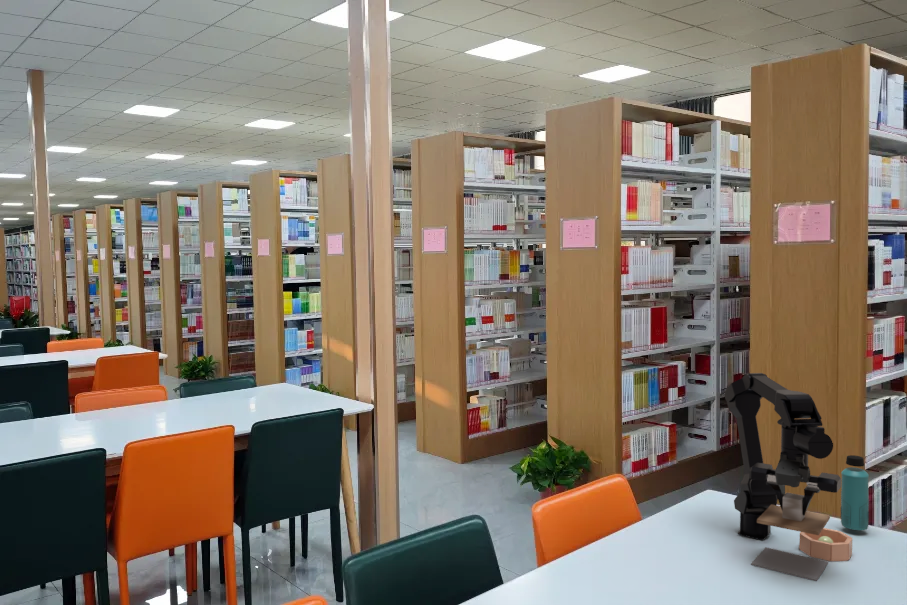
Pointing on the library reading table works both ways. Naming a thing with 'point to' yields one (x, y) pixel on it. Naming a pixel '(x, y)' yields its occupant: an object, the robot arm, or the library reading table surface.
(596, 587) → the library reading table surface
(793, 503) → the lid
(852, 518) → the beverage bottle
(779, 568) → the mat
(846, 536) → the bowl
